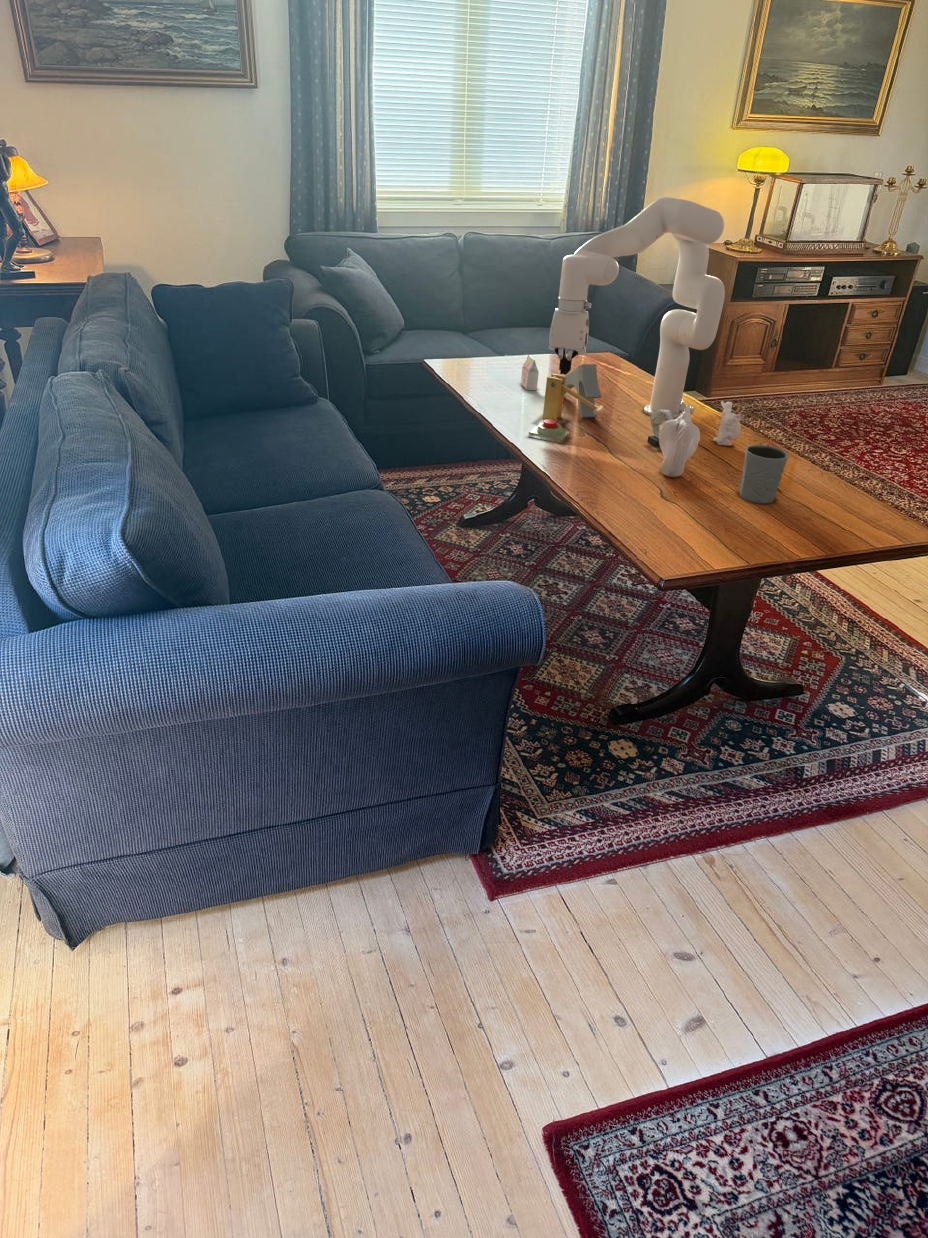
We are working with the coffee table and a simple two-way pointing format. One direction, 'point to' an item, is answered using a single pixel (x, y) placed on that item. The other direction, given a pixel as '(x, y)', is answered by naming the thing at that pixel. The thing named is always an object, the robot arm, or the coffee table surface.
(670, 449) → the shell sculpture
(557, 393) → the bracket
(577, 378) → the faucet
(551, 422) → the stop button
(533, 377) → the milk carton
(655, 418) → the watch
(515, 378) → the coffee table surface
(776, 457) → the grey cup
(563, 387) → the tap lever
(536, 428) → the button box
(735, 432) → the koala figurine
